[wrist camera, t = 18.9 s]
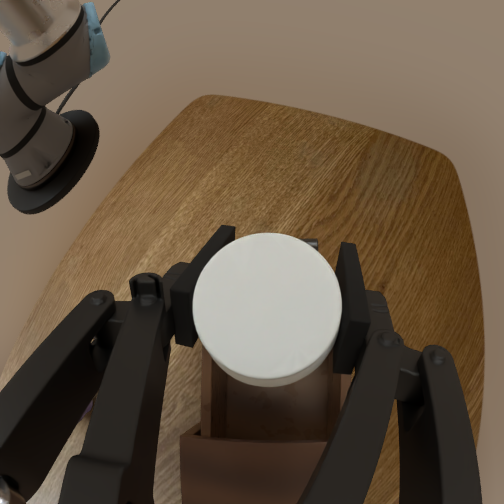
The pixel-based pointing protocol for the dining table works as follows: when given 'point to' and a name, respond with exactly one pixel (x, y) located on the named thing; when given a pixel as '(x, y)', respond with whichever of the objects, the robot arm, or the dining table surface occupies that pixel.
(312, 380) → the drawer
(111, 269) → the dining table surface
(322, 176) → the dining table surface
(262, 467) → the cabinet
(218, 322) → the pill bottle
